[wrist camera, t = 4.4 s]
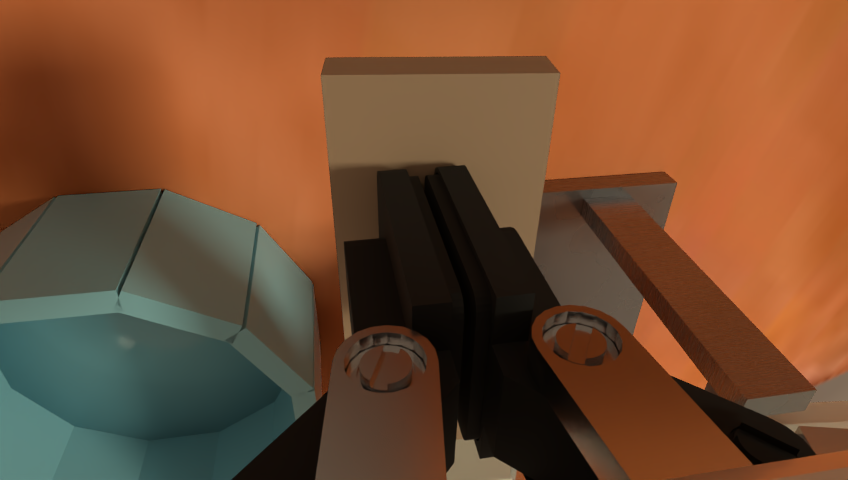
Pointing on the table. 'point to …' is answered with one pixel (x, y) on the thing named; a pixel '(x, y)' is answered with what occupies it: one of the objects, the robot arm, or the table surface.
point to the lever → (455, 162)
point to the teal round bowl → (148, 340)
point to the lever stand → (657, 284)
